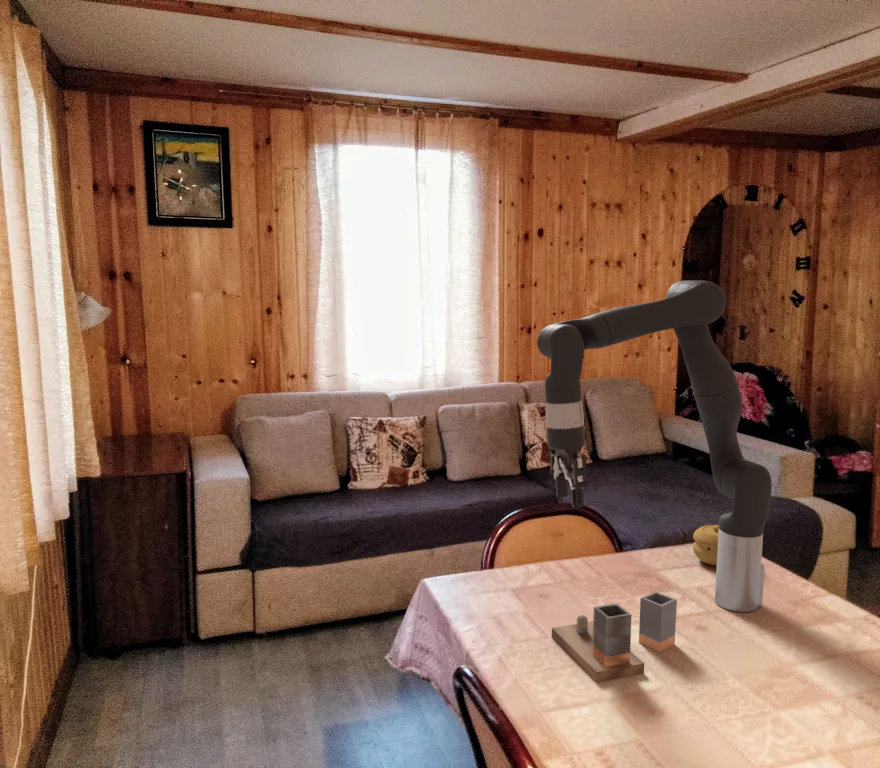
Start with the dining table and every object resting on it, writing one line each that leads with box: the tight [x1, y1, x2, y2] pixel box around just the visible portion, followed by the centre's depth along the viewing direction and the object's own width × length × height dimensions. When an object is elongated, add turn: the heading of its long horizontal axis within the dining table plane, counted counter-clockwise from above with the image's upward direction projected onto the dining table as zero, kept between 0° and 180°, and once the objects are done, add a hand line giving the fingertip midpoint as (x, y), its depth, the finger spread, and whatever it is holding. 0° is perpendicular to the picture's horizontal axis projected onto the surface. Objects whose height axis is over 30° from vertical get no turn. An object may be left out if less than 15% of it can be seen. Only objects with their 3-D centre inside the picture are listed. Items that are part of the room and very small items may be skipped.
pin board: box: [551, 603, 645, 683], centre depth 143 cm, size 10×18×12 cm, turn 18°
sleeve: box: [638, 590, 678, 653], centre depth 147 cm, size 5×5×10 cm
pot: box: [692, 524, 719, 567], centre depth 189 cm, size 12×12×10 cm
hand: (569, 501), depth 149 cm, fingers open, 8 cm apart
